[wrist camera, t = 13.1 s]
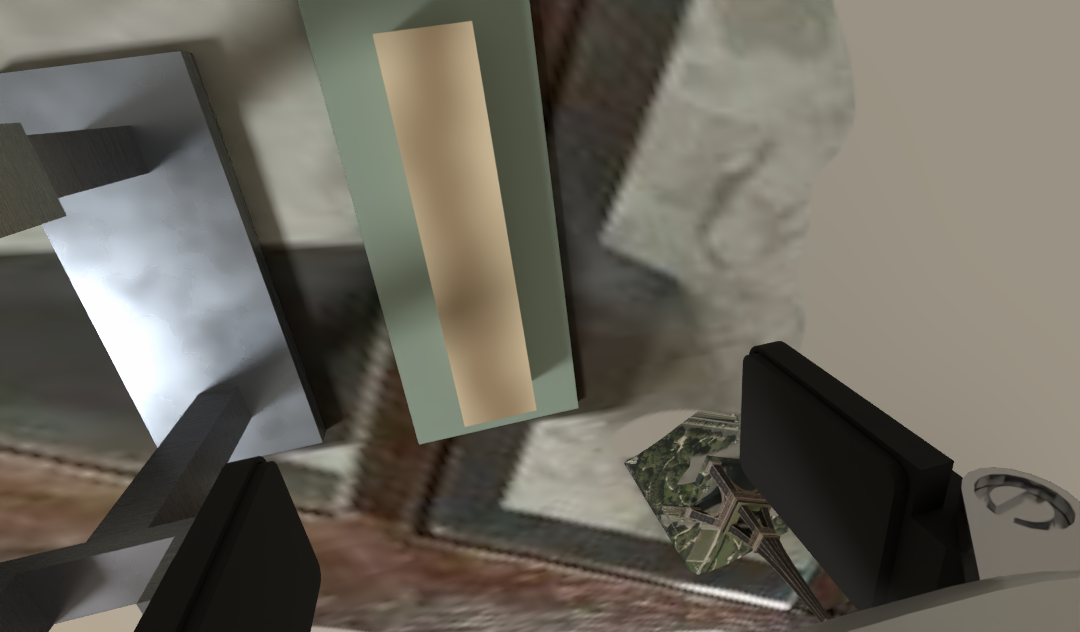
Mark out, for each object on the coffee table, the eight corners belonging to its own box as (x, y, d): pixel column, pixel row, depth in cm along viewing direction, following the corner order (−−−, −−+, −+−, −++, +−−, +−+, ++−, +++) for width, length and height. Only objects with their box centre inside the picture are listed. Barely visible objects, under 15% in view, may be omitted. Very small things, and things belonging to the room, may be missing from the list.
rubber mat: (522, -39, 24) (524, -42, 24) (575, 402, 34) (578, 407, 33) (296, -14, 23) (292, -16, 22) (418, 438, 33) (418, 444, 32)
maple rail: (466, 29, 24) (472, 20, 22) (526, 383, 32) (536, 410, 29) (378, 41, 24) (372, 34, 21) (461, 398, 31) (464, 427, 29)
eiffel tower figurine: (617, 457, 37) (712, 632, 25) (743, 382, 37) (902, 522, 25) (693, 578, 43) (799, 765, 31) (801, 515, 43) (950, 678, 31)
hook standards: (191, 53, 23) (-142, -10, 9) (326, 430, 31) (250, 688, 18) (-13, 78, 22) (-717, 48, 8) (181, 462, 30) (-19, 763, 16)
